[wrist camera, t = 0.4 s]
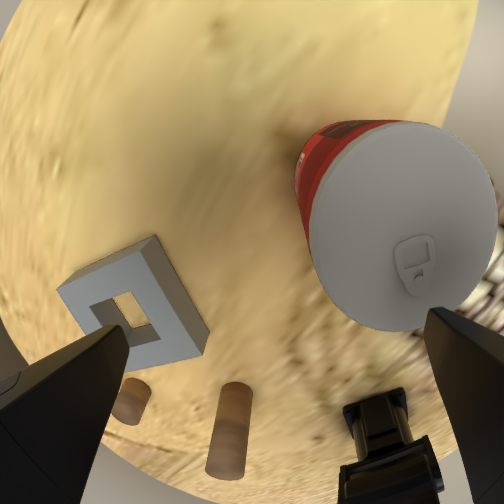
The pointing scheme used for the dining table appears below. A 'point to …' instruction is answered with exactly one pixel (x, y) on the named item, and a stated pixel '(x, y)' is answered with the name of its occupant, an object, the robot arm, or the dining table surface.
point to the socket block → (148, 297)
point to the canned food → (395, 219)
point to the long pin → (230, 433)
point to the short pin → (131, 401)
